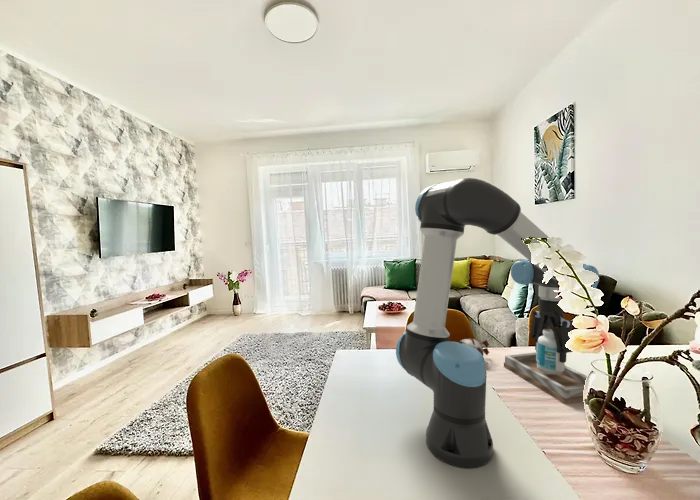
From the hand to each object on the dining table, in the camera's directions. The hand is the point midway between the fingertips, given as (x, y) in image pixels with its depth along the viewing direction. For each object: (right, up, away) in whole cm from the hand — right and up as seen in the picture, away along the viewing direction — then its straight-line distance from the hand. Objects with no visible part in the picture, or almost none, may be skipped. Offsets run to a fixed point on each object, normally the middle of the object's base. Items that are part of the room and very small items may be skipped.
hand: (549, 365), depth 109 cm
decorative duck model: (-21, -4, +19) cm, 28 cm away
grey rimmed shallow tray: (0, -5, 0) cm, 5 cm away
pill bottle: (0, -2, 0) cm, 2 cm away
